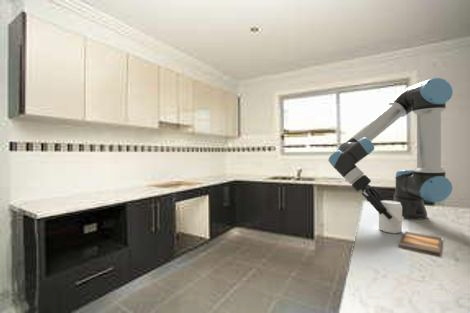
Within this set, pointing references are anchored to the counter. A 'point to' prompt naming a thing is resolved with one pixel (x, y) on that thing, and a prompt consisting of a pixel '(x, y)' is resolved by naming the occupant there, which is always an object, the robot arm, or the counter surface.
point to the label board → (421, 243)
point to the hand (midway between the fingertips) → (399, 222)
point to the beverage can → (396, 211)
